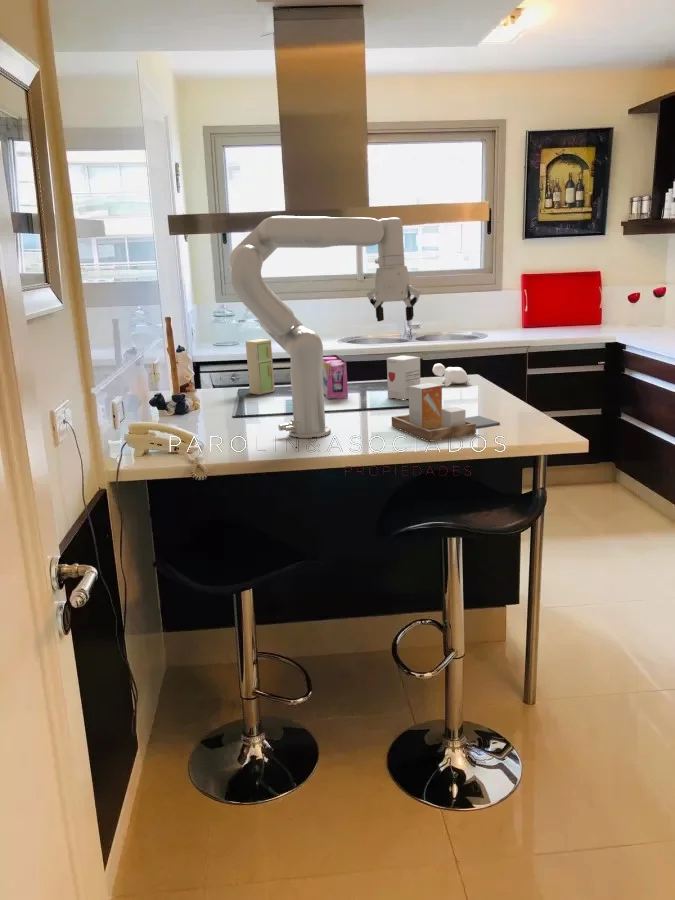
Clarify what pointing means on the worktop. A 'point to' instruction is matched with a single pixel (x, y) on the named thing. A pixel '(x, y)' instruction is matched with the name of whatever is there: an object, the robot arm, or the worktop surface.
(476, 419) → the slate mat
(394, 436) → the worktop surface
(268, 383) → the toy refrigerator
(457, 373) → the white animal figurine
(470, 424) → the tray
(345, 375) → the gum box
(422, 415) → the small box
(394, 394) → the supplement box
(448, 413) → the white block
